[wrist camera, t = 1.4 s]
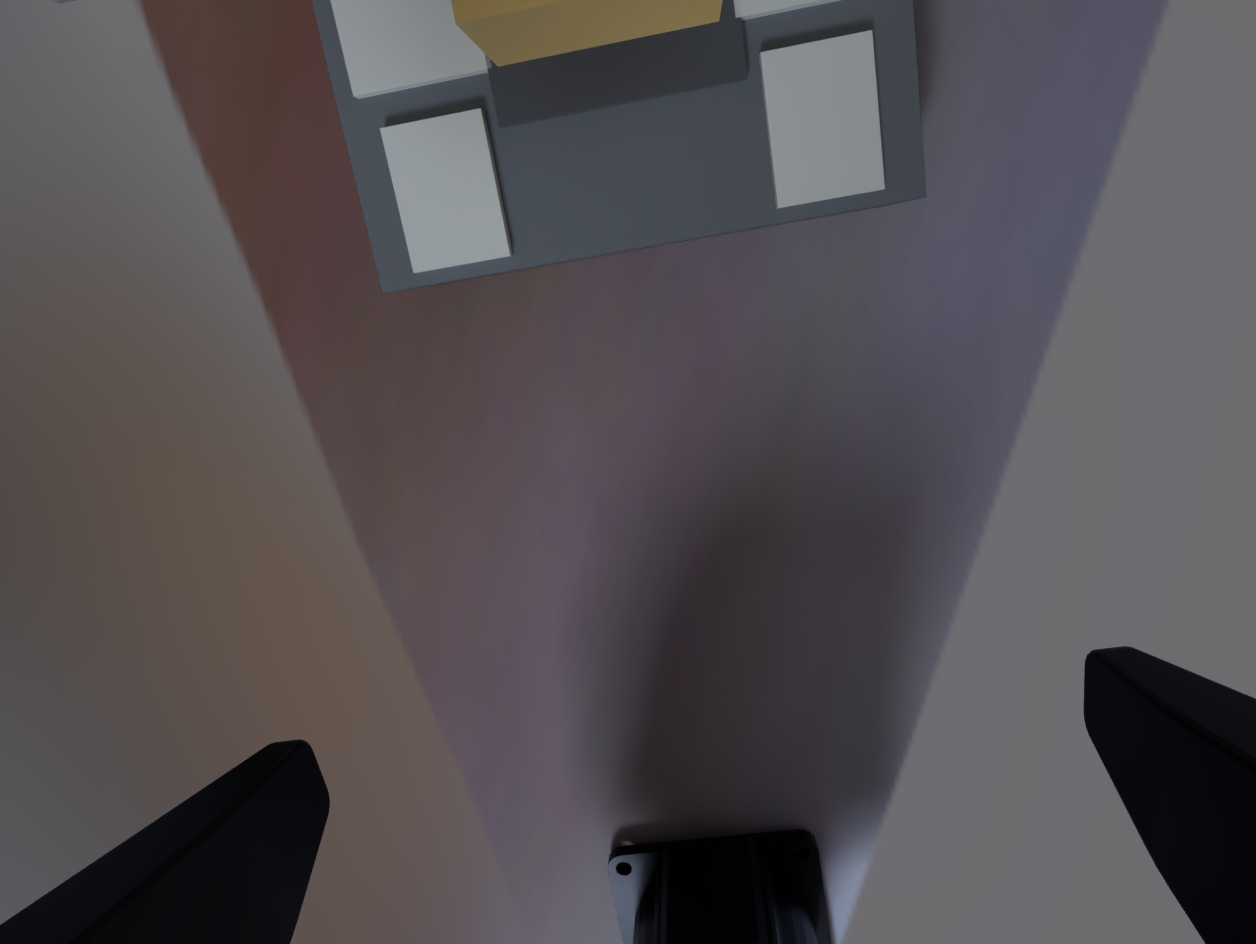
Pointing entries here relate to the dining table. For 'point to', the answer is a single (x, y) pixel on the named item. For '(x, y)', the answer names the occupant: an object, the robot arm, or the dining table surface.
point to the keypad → (617, 132)
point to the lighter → (62, 1)
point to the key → (571, 23)
